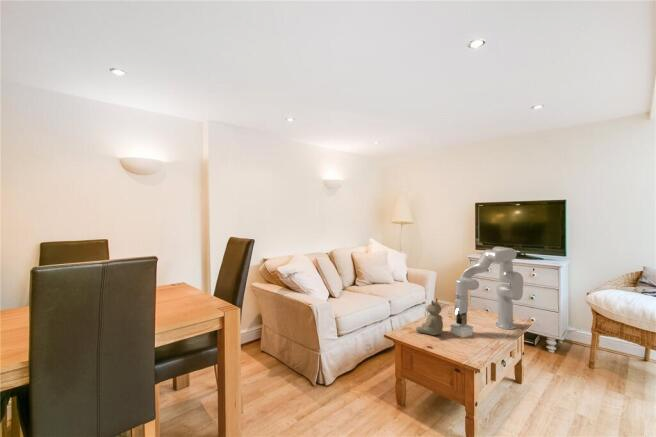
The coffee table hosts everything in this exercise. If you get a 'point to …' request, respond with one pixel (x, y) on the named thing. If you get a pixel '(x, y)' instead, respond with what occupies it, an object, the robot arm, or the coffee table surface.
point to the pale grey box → (461, 330)
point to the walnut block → (463, 319)
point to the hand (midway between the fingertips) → (461, 322)
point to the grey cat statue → (432, 320)
